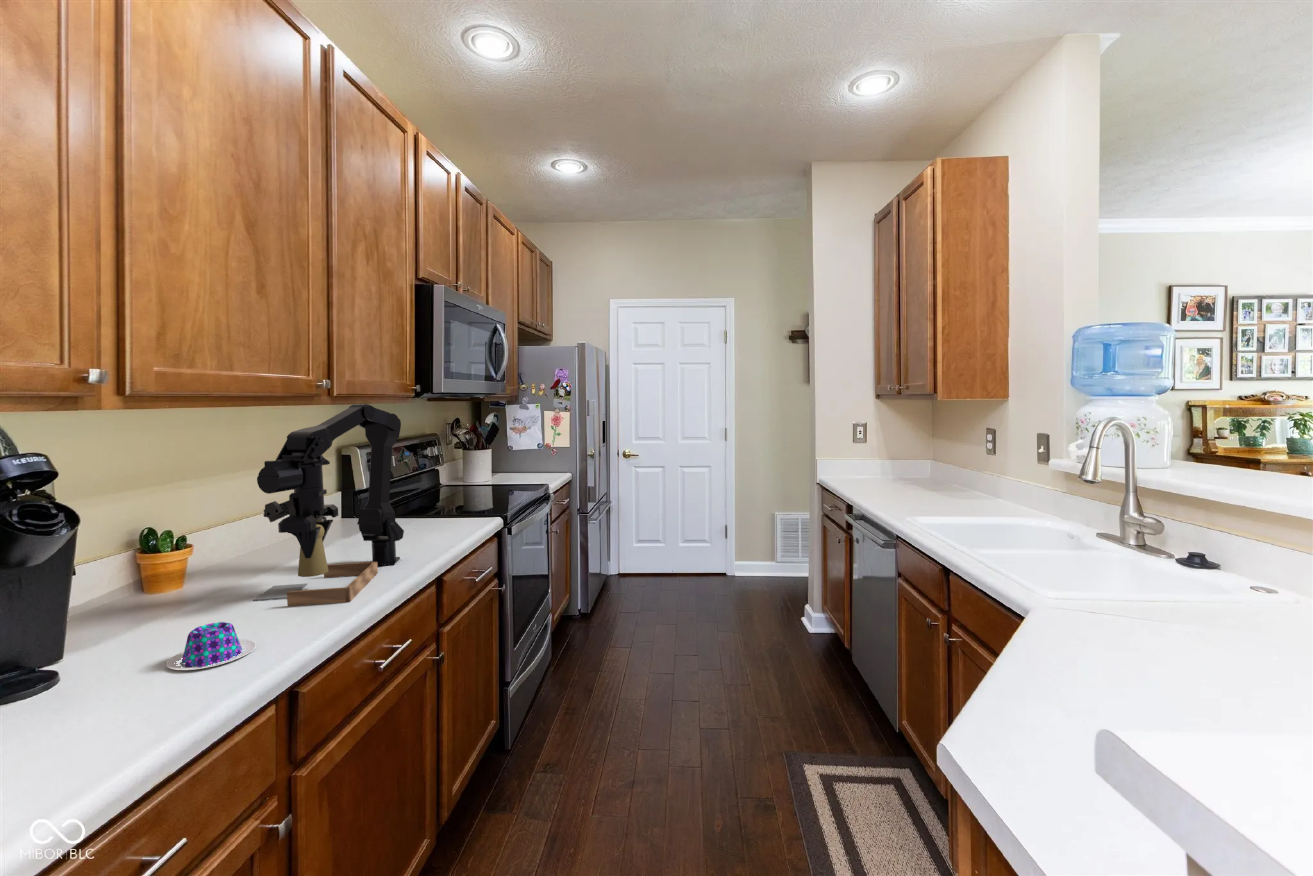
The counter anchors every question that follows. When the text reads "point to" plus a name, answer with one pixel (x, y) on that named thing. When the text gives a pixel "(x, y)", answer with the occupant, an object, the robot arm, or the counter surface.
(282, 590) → the grey mat
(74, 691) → the counter surface
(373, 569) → the wooden u-shaped frame
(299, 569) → the cork
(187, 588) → the counter surface
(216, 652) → the patterned hat
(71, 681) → the counter surface
